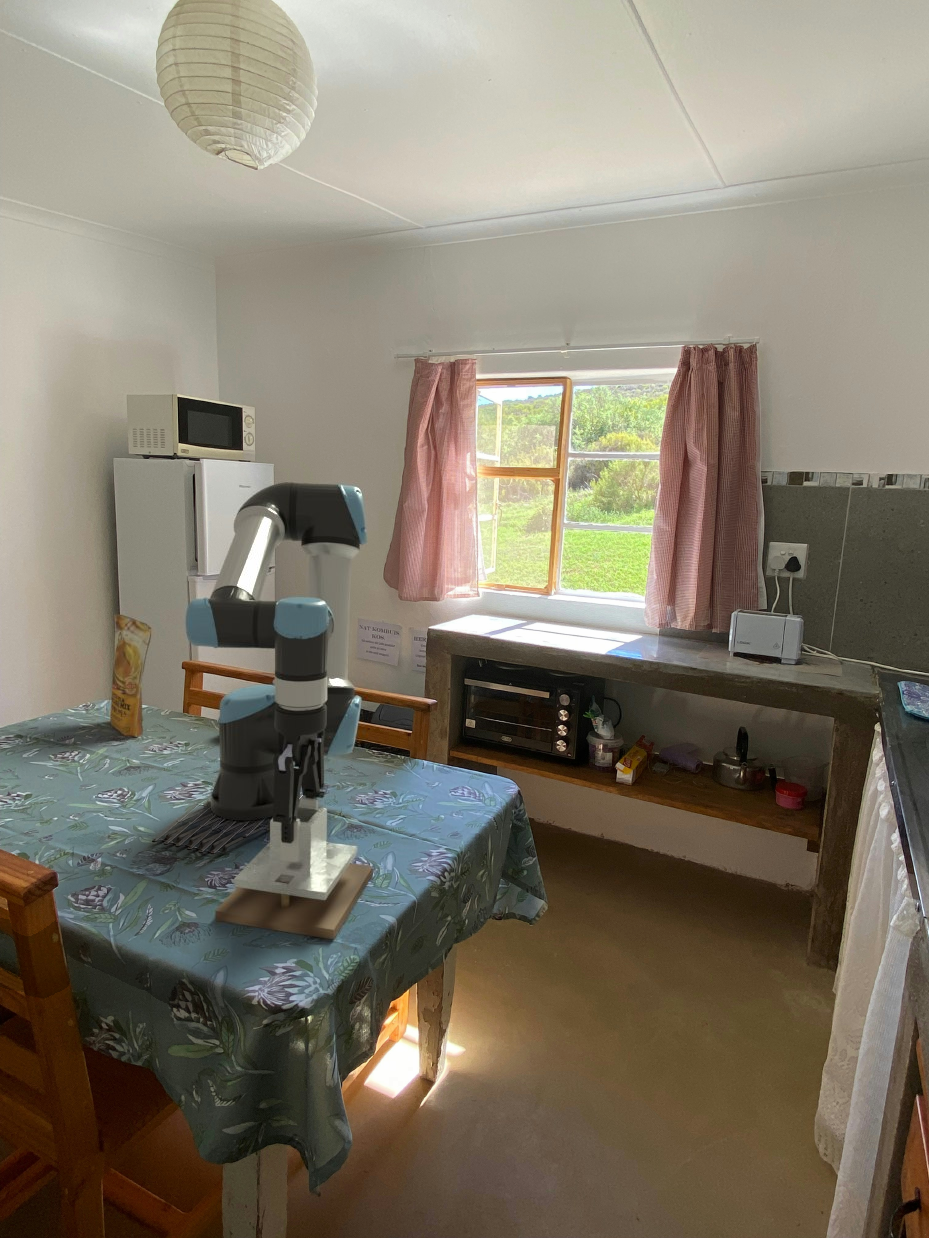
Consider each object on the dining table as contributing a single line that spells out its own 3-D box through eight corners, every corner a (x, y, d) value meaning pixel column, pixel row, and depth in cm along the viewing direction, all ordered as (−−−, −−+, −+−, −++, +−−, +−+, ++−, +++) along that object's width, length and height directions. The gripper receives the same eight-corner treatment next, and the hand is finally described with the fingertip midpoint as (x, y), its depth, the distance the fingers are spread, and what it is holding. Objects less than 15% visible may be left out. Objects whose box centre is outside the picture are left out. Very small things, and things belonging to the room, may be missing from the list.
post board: (215, 920, 105) (214, 859, 103) (270, 859, 122) (270, 806, 120) (333, 939, 102) (334, 877, 100) (372, 874, 119) (374, 820, 117)
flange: (275, 841, 119) (276, 790, 117) (357, 853, 117) (358, 800, 115) (234, 886, 105) (233, 828, 104) (325, 900, 103) (326, 841, 102)
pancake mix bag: (130, 715, 191) (127, 611, 186) (157, 736, 178) (154, 624, 173) (103, 720, 187) (99, 613, 182) (128, 741, 173) (124, 626, 168)
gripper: (302, 684, 116) (301, 818, 120) (245, 720, 98) (246, 877, 102) (347, 688, 115) (344, 823, 119) (298, 726, 96) (297, 885, 100)
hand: (299, 848), depth 110 cm, fingers closed on flange, 6 cm apart
